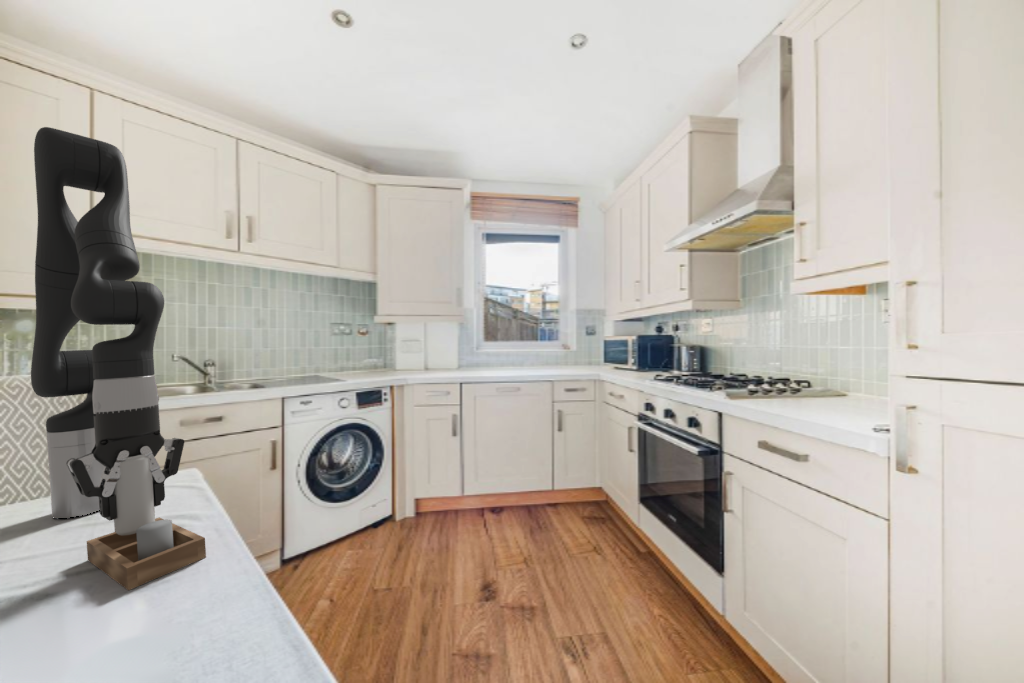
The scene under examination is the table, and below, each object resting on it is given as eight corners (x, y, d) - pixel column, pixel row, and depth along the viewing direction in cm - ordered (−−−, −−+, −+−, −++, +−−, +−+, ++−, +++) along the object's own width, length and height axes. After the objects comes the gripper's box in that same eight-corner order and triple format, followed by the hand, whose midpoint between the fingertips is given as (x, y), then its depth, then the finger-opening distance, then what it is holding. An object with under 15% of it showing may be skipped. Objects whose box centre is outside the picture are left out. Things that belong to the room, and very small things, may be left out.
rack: (87, 560, 63) (86, 541, 63) (160, 534, 71) (159, 517, 71) (128, 590, 54) (126, 568, 54) (206, 557, 62) (204, 537, 62)
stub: (134, 568, 60) (131, 528, 60) (167, 555, 63) (165, 517, 63) (145, 575, 58) (142, 534, 58) (179, 561, 61) (176, 522, 61)
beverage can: (130, 537, 62) (125, 459, 61) (105, 536, 62) (100, 459, 62) (163, 523, 66) (158, 450, 66) (140, 521, 67) (135, 450, 67)
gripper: (172, 397, 72) (178, 492, 72) (53, 413, 60) (61, 526, 60) (191, 399, 68) (197, 498, 69) (68, 415, 56) (76, 537, 56)
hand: (134, 511), depth 64 cm, fingers closed on beverage can, 4 cm apart
